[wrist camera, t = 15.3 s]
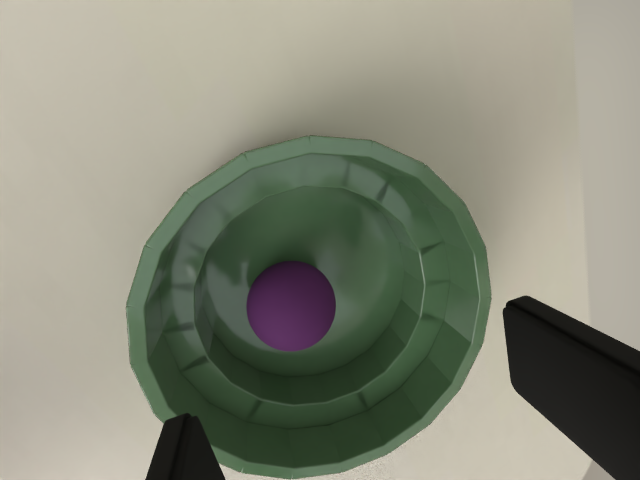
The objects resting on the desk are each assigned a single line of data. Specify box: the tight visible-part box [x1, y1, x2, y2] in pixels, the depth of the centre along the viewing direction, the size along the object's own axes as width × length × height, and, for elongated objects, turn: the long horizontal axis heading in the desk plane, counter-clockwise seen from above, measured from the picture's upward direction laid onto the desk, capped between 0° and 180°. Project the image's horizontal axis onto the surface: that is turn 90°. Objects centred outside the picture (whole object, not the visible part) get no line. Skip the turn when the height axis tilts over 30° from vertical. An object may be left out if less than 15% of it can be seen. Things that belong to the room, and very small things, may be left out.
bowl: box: [126, 135, 491, 479], centre depth 16 cm, size 14×14×5 cm
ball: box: [246, 261, 336, 351], centre depth 15 cm, size 4×4×4 cm
